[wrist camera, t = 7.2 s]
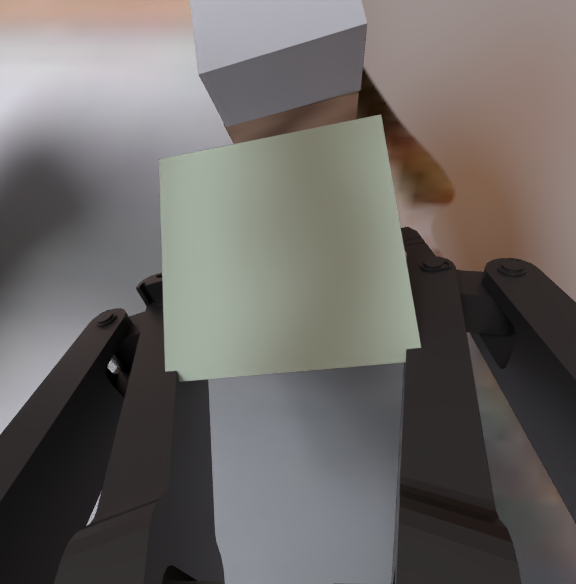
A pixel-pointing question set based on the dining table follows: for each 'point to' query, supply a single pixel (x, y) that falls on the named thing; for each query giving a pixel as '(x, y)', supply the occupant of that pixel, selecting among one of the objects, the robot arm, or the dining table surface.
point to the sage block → (284, 256)
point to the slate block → (277, 53)
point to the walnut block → (297, 119)
